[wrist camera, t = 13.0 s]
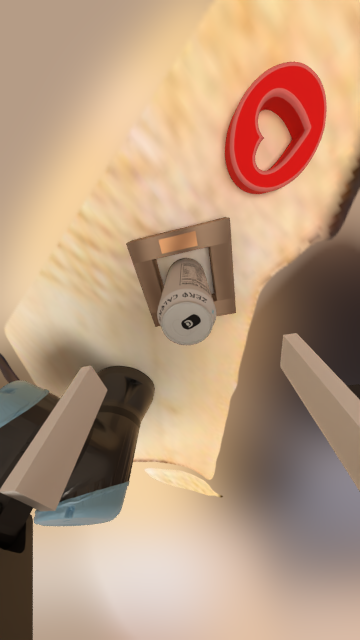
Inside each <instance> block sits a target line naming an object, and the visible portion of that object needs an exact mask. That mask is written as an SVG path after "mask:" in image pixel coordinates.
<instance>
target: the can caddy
mask: <svg viewBox="0 0 360 640" xmlns="http://www.w3.org/2000/svg"><path fill="white" fill-rule="evenodd" d="M126 245H127V247H128V250H129V253H130V256H131V259H132V262H133V264H134V267H135V270H136V273H137V276H138V279H139V281H140V284H141V287H142V290H143V293H144V296H145V298H146V301H147V304H148V307H149V310H150V313H151V315H152V318H153V321H154V324H155V327H157V326H160V324H159V321H158V318H157V311H158V306H159V303H160V299H161V296H162V292H163V289H164V286H163V282H162V279H161V275H160V272H159V268H158V265H157V261H156V259H157V258H161V257H166V256H170V255H175V254H179V253H183V252H188V251H192V250H196V249H201V248H205V247H209V255H210V262H211V270H212V278H213V286H214V294H211V295H212V298H213V301H214V305H215V308H216V316H221V315H226V314H232V313H236V307H235V292H234V276H233V260H232V245H231V229H230V218H226V217H225V218H221V219H217V220H213V221H209V222H205V223H201V224H197V225H193V226H189V227H185V228H181V229H176V230H172V231H168V232H164V233H160V234H156V235H152V236H148V237H144V238H140V239H136V240H132V241H130V242H128V243H126Z"/></svg>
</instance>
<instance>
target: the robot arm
mask: <svg viewBox="0 0 360 640" xmlns="http://www.w3.org/2000/svg"><path fill="white" fill-rule="evenodd" d="M280 367H281V368H282V370H283V372H284V373H285V374H286V376H287V378H288V379H289V381H290V383H291V384H292V386H293V387H294V389H295V390H296V392H297V394H298V395H299V397H300V398H301V400H302V401H303V403H304V405H305V406H306V408H307V409H308V411H309V412H310V414H311V416H312V417H313V419H314V420H315V422H316V423H317V425H318V427H319V428H320V430H321V431H322V433H323V434H324V436H325V437H326V439H327V441H328V442H329V444H330V445H331V447H332V448H333V450H334V452H335V453H336V455H337V456H338V458H339V459H340V461H341V463H342V464H343V466H344V467H345V469H346V470H347V472H348V473H349V475H350V477H351V478H352V480H353V482H354V483H355V485H356V486H357V488H358V489H359V491H360V385H359V384H358V385H348V386H346V385H345V384H344V383H343V382H342V381H341V380H340V379H339V377H338V376H337V375H336V374H335V373H334V372H333V371H332V370H331V369H330V368H329V367H328V366H327V365H326V364H325V363H324V362H323V361H322V360H321V359H320V358H319V356H318V355H317V354H316V353H315V352H314V351H313V350H312V349H311V348H310V347H309V346H308V345H307V344H306V343H305V342H304V341H303V340H302V339H301V338H300V336H299V335H298V334H297V333H294V334H288V335H283V344H282V353H281V363H280ZM153 396H154V385H153V383H152V381H151V380H150V379H149V378H148V377H147V376H146V375H145V374H143V373H142V372H140V371H138V370H135V369H133V368H129V367H122V366H115V367H109V368H106V369H104V370H102V371H100V372H99V373H98V374H97V373H96V372H95V370H94V369H93V367H92V366H85V367H81V369H80V370H79V372H78V373H77V375H76V376H75V378H74V379H73V381H72V382H71V384H70V385H69V387H68V388H67V390H66V391H65V393H64V394H63V396H62V397H61V399H60V398H58V397H57V396H55V395H53V394H51V393H49V391H48V390H46V389H44V390H43V389H41V388H39V387H37V386H35V385H33V384H31V383H29V382H27V381H22V380H19V381H14V382H11V383H9V384H7V385H6V386H4V387H3V388H1V389H0V640H33V639H32V638H33V635H32V634H33V633H32V632H33V631H32V630H33V627H32V625H33V622H32V621H33V609H32V608H33V606H32V605H33V589H32V588H33V519H32V515H30V513H31V511H32V509H33V508H35V509H36V511H35V517H34V523H35V524H39V525H43V526H79V525H91V524H98V523H104V522H108V521H111V520H113V519H114V518H115V517H116V516H117V515H118V514H119V512H120V510H121V508H122V505H123V501H124V498H125V493H126V490H127V486H128V485H129V478H130V473H131V468H132V463H133V458H134V453H135V448H136V443H137V438H138V433H139V428H140V424H141V421H142V419H143V417H144V416H145V414H146V412H147V410H148V408H149V406H150V405H151V403H152V400H153Z"/></svg>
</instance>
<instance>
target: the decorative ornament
mask: <svg viewBox="0 0 360 640" xmlns="http://www.w3.org/2000/svg"><path fill="white" fill-rule="evenodd" d="M262 110H271V111H273V112H274V113H276V114H277V115H278V116H279V117H280V118H281V119H282V120H283V122H284V123H285V125H286V126H287V128H288V130H289V132H290V135H291V137H292V140H291V142H290V144H289V145H288V147H287V148H286V150H285V151H284V153H283V154H282V156H281V157H280V158H279V160H278V161H277V162H276V163H275V164H274V165H273V166H272V167H271V168H270V169H269V170H268V171H262V170H260V169H259V168H258V167H257V165H256V163H255V154H256V151H257V148H258V146H259V144H260V142H261V141H262V140H263V139H264V137H263V136H262V135H261V133H260V131H259V128H258V115H259V112H260V111H262ZM325 120H326V97H325V92H324V88H323V85H322V83H321V81H320V79H319V77H318V76H317V74H316V73H315V72H314V71H313V70H312V69H311V68H309V67H308V66H307V65H305V64H303V63H299V62H287V63H282V64H279V65H276V66H274V67H272V68H270V69H268V70H267V71H265V72H264V73H263V74H262V75H260V76H259V77H258V78H257V79H256V80H255V81H254V82H253V83H252V85H251V86H250V87H249V88H248V90H247V91H246V93H245V94H244V96H243V97H242V99H241V101H240V103H239V105H238V107H237V109H236V111H235V113H234V115H233V117H232V120H231V122H230V125H229V128H228V132H227V137H226V145H225V160H226V165H227V169H228V172H229V175H230V177H231V179H232V180H233V182H234V183H235V184H236V185H237V186H238V187H239V188H240V189H242V190H243V191H245V192H248V193H252V194H262V193H266V192H270V191H274V190H277V189H279V188H281V187H283V186H285V185H287V184H288V183H290V182H291V181H293V180H294V179H295V178H296V177H297V176H298V175H299V174H300V173H301V172H302V171H303V170H304V169H305V167H306V166H307V165H308V163H309V162H310V160H311V159H312V157H313V155H314V153H315V152H316V150H317V147H318V145H319V143H320V140H321V138H322V135H323V131H324V127H325Z"/></svg>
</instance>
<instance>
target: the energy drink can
mask: <svg viewBox="0 0 360 640" xmlns="http://www.w3.org/2000/svg"><path fill="white" fill-rule="evenodd" d="M157 318H158V321H159V324H160V326H161V327H162V330H163V332H164V334H165V335H166V337H167V338H168V339H170V340H171V341H173V342H174V343H177V344H181V345H193V344H197V343H199V342H201V341H203V340H204V339H205V338H206V337H207V336H208V335H209V334H210V332H211V330H212V326H213V325H214V323H215V320H216V308H215V305H214V301H213V298H212V295H211V292H210V289H209V286H208V283H207V280H206V277H205V273H204V270H203V268H202V266H201V265H200V264H199V263H198V262H196V261H194V260H192V259H181V260H178V261H176V262H175V263H174V264H173V265H172V266H171V267H170V269H169V271H168V274H167V278H166V282H165V285H164V289H163V292H162V296H161V299H160V303H159V306H158V311H157Z"/></svg>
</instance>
